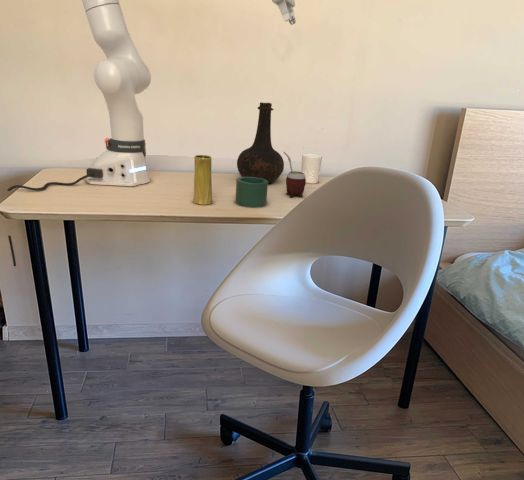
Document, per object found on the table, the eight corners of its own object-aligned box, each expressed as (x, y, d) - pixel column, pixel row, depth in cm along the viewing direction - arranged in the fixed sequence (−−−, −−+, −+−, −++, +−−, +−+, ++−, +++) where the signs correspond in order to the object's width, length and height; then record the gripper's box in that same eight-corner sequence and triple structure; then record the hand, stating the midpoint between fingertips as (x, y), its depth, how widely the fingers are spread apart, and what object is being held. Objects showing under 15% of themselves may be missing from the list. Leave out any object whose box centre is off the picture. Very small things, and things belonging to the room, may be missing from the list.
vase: (194, 204, 163) (194, 158, 156) (191, 200, 168) (191, 154, 161) (213, 204, 165) (214, 158, 157) (210, 199, 170) (210, 154, 162)
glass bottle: (227, 179, 199) (229, 99, 185) (261, 175, 210) (266, 99, 195) (257, 189, 188) (262, 105, 174) (291, 184, 198) (299, 105, 184)
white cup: (322, 183, 203) (325, 157, 198) (304, 184, 200) (307, 157, 195) (313, 179, 209) (316, 153, 204) (296, 179, 206) (298, 153, 201)
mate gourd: (307, 195, 184) (311, 151, 176) (298, 199, 178) (303, 154, 170) (288, 192, 187) (292, 148, 179) (279, 196, 180) (283, 151, 173)
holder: (239, 207, 164) (240, 183, 160) (232, 199, 172) (233, 176, 169) (269, 207, 167) (271, 184, 163) (261, 199, 175) (263, 176, 171)
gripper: (270, -20, 153) (286, 30, 158) (255, -33, 136) (273, 23, 141) (290, -30, 151) (305, 20, 156) (276, -45, 133) (295, 12, 138)
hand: (290, 22), depth 148 cm, fingers open, 8 cm apart
